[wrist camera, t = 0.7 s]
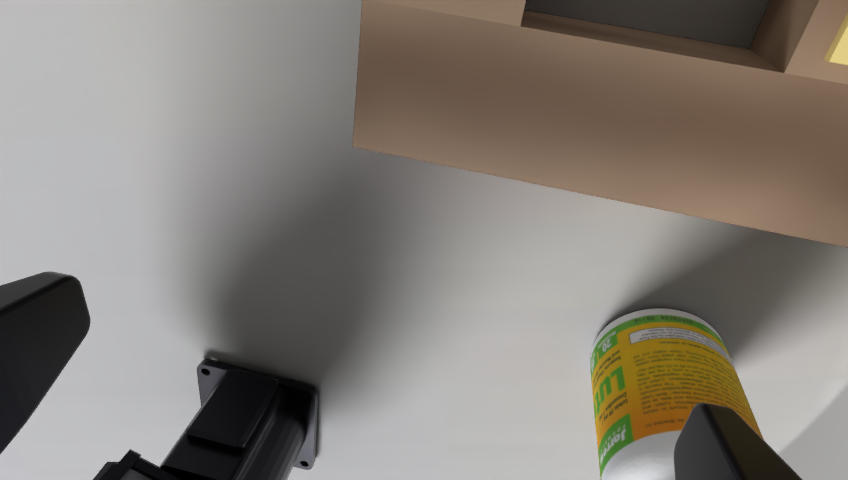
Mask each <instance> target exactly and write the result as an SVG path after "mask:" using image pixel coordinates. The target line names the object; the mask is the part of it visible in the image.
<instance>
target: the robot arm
mask: <svg viewBox="0 0 848 480" xmlns="http://www.w3.org/2000/svg"><path fill="white" fill-rule="evenodd" d="M89 327H90V315H89V311H88V308H87V304H86V301H85V297H84V293H83V290H82V286H81V284H80V282H79V280H78V279H77V278H76V277H74V276H71V275H67V274H62V273H57V272H43V273H40V274H37V275H33V276H30V277H27V278H24V279H21V280H17V281H14V282H11V283H8V284H4V285H1V286H0V454H1V453H2V451H3V450H4V449H5V448H6V447H7V445H8V444H9V443H10V442H11V441H12V439H13V438H14V437H15V436H16V434H17V433H18V432H19V431H20V429H21V428H22V427H23V426H24V424H25V423H26V422H27V421H28V419H29V418H30V416H31V415H32V414H33V412H34V411H35V409H36V408H37V407H38V405H39V404H40V402H41V401H42V399H43V398H44V396H45V395H46V393H47V392H48V391H49V389H50V388H51V386H52V385H53V383H54V382H55V380H56V379H57V377H58V376H59V374H60V373H61V371H62V370H63V369H64V367H65V366H66V364H67V363H68V361H69V360H70V358H71V357H72V355H73V354H74V352H75V351H76V349H77V348H78V347H79V345H80V344H81V342H82V341H83V339H84V338H85V336H86V335H87V333H88V330H89ZM197 375H198V383H199V391H200V399H201V408H200V410H199V411H198V412H197V414H196V415H195V417H194V418H193V420H192V421H191V422H190V424H189V425H188V427H187V428H186V430H185V431H184V432H183V434H182V435H181V437H180V438H179V440H178V441H177V442H176V444H175V445H174V447H173V448H172V450H171V451H170V452H169V454H168V455H167V457H166V458H165V459H164V461H163V462H162V464H161V465H160V467H158V466H156V465H155V464H153V463H151V462H149V461H147V460H145V459H143V458H141V454H139V453H137V452H135V451H133V450H131V449H130V450H129V451H128V453H127V454H126V455H125V456H124V457H123V458H122V459H121V461H120V462H107V463H106V464H105V465H104V467H103V468H102V469H101V470H100V472H99V473H98V474H97V475H96V476H95V478H94V479H93V480H287V478H288V476H289V474H290V472H291V470H292V468H293V466H294V467H298V468H301V469H306V470H308V469H311V468H312V467H313V465H314V462H315V455H316V432H317V408H318V391H317V390H316V388H315V387H313V386H311V385H309V384H305V383H301V382H296V381H292V380H288V379H284V378H280V377H276V376H272V375H268V374H264V373H260V372H256V371H252V370H248V369H244V368H240V367H236V366H232V365H228V364H224V363H220V362H216V361H212V360H203V361H202V362H201V363H200V364H199V366H198V367H197ZM674 471H675V480H802V479H801V478H800V477H799V476H798V475H797V474H796V473H795V472H794V471H793V470H792V468H791V467H790V466H789V465H788V464H787V463H785V461H784V460H783V459H782V458H781V457H780V456H779V455H778V454H777V453H776V452H775V451H774V450H773V449H772V448H771V447H770V446H769V445H768V444H767V443H766V442H765V441H764V440H763V439H762V438H761V437H760V436H759V435H758V434H757V433H756V432H755V431H754V430H753V429H752V428H751V427H750V426H749V425H748V424H747V423H746V422H745V421H744V420H743V419H742V418H741V417H740V416H739V415H738V414H737V413H736V412H735V411H734V410H733V409H731V408H729V407H726V406H721V405H716V404H711V403H706V402H700V403H697V404H696V405H695V406H694V408H693V409H692V411H691V413H690V415H689V417H688V419H687V421H686V423H685V425H684V427H683V429H682V431H681V433H680V435H679V437H678V439H677V441H676V444H675V448H674Z"/></svg>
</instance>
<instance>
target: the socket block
mask: <svg viewBox="0 0 848 480" xmlns="http://www.w3.org/2000/svg"><path fill="white" fill-rule="evenodd" d="M525 5H526V0H362V12H361V27H360V42H359V57H358V72H357V87H356V102H355V117H354V132H353V147H357V148H362V149H366V150H371V151H376V152H381V153H386V154H391V155H396V156H401V157H406V158H411V159H416V160H420V161H425V162H430V163H435V164H440V165H445V166H450V167H455V168H460V169H465V170H470V171H474V172H479V173H484V174H489V175H494V176H499V177H504V178H509V179H514V180H519V181H524V182H529V183H533V184H538V185H543V186H548V187H553V188H558V189H563V190H568V191H573V192H578V193H583V194H587V195H592V196H597V197H602V198H607V199H612V200H617V201H622V202H627V203H632V204H637V205H641V206H646V207H651V208H656V209H661V210H666V211H671V212H676V213H681V214H686V215H691V216H695V217H700V218H705V219H710V220H715V221H720V222H725V223H730V224H735V225H740V226H745V227H749V228H754V229H759V230H764V231H769V232H774V233H779V234H784V235H789V236H794V237H799V238H804V239H808V240H813V241H818V242H823V243H828V244H833V245H838V246H843V247H848V0H770V2H769V5H768V7H767V9H766V11H765V14H764V16H763V18H762V21H761V23H760V25H759V28H758V30H757V32H756V34H755V37H754V39H753V41H752V44H751V46H750V48H749V49H745V48H740V47H734V46H728V45H722V44H717V43H711V42H705V41H699V40H694V39H688V38H682V37H676V36H671V35H665V34H659V33H653V32H648V31H642V30H636V29H630V28H625V27H619V26H613V25H607V24H602V23H596V22H590V21H584V20H578V19H573V18H567V17H561V16H555V15H550V14H544V13H538V12H532V11H527V10H524V9H525Z"/></svg>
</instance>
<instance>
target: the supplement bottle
mask: <svg viewBox="0 0 848 480" xmlns="http://www.w3.org/2000/svg"><path fill="white" fill-rule="evenodd" d="M590 364H591V380H592V390H593V402H594V413H595V425H596V434H597V444H598V455H599V466H600V476H601V480H675V471H674V448H675V444H676V441H677V439H678V437H679V435H680V433H681V431H682V429H683V427H684V425H685V423H686V421H687V419H688V417H689V415H690V413H691V411H692V409H693V408H694V406H695V405H696V404H697V403H700V402H706V403H711V404H716V405H721V406H726V407H729V408H731V409H733V410H734V411H735V412H736V413H737V414H738V415H739V416H740V417H741V418H742V419H743V420H744V421H745V422H746V423H747V424H748V425H749V426H750V427H751V428H752V429H753V430H754V431H755V432H756V433H757V434H758V435H759V436H760V437H761V438H762V439H763V437H762V435H761V432H760V430H759V427H758V425H757V422H756V420H755V418H754V415H753V413H752V410H751V408H750V405H749V403H748V400H747V398H746V396H745V393H744V391H743V388H742V386H741V383H740V381H739V378H738V376H737V373H736V371H735V368H734V365H733V363H732V360H731V358H730V356H729V353H728V351H727V349H726V347H725V344H724V342H723V341H722V339H721V337H720V336H719V334H718V333H717V332H716V331H715V329H714V328H713V327H712V326H710V325H709V324H708V323H707V322H705V321H704V320H702V319H701V318H699V317H697V316H695V315H692V314H690V313H687V312H683V311H679V310H674V309H666V308H656V309H645V310H640V311H636V312H632V313H629V314H626V315H624V316H622V317H620V318H618V319H616V320H614V321H613V322H611V323H610V324H609V325H607V326H606V327H605V328H604V329H603V330H602V331H601V333H600V334H599V335H598V337H597V338H596V340H595V342H594V344H593V347H592V350H591V356H590ZM763 440H764V439H763Z"/></svg>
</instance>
